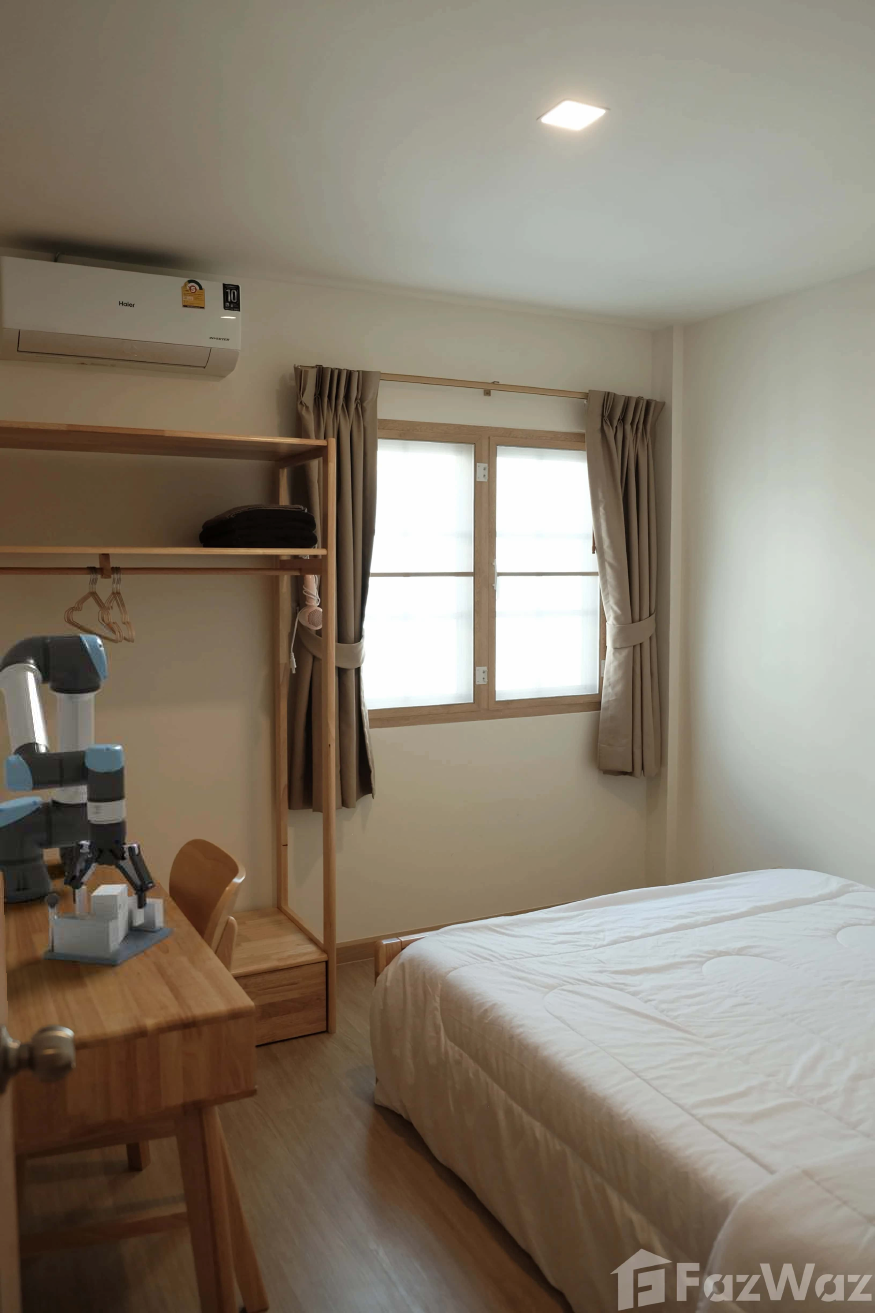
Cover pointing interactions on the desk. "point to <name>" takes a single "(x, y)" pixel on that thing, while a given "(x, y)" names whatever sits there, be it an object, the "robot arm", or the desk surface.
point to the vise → (94, 937)
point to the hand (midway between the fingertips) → (110, 921)
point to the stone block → (71, 857)
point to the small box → (112, 905)
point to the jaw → (147, 915)
